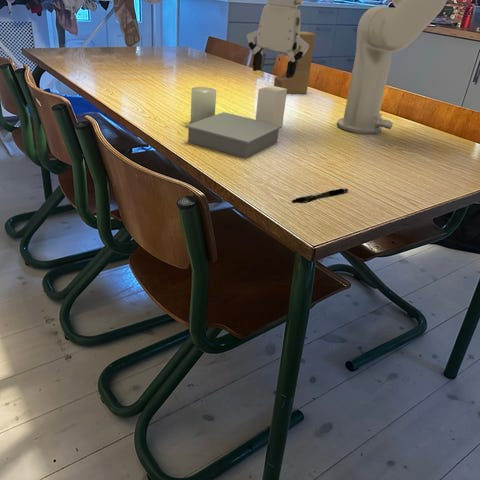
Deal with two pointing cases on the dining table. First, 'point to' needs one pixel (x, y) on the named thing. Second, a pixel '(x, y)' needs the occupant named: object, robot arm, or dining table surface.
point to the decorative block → (299, 69)
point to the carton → (271, 105)
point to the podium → (233, 134)
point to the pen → (319, 195)
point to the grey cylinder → (202, 103)
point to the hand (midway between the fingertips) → (272, 73)
